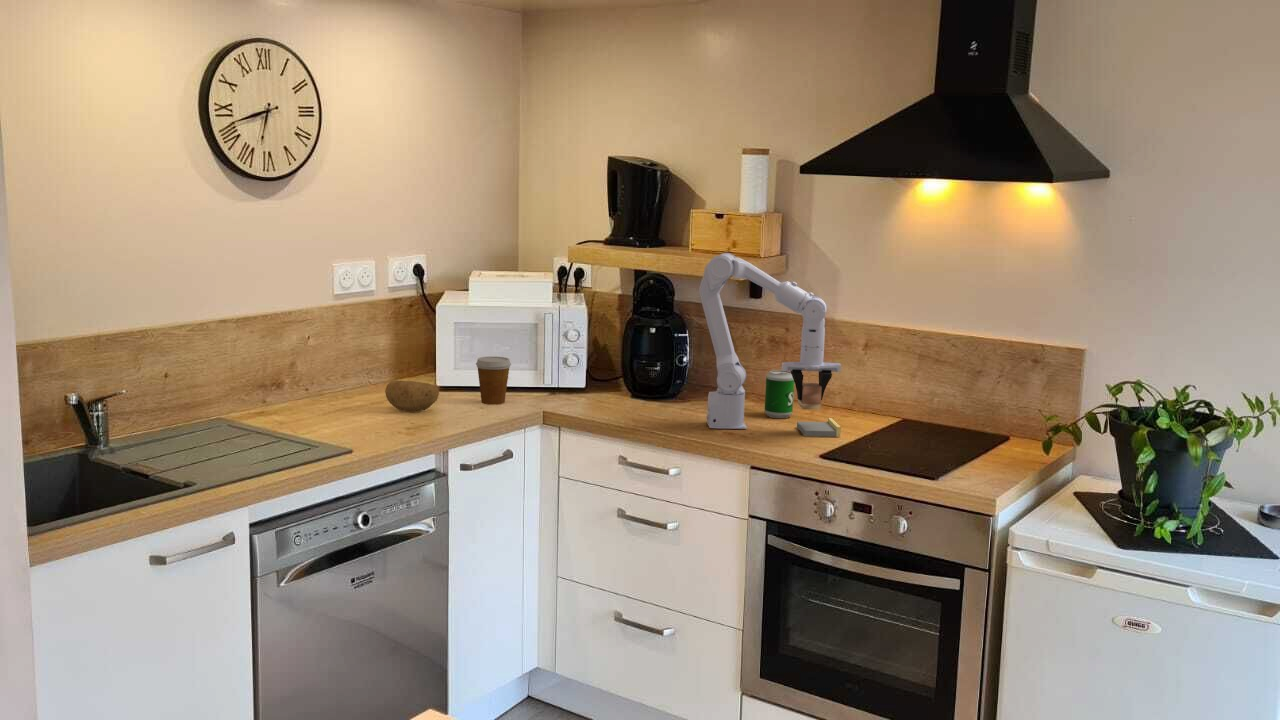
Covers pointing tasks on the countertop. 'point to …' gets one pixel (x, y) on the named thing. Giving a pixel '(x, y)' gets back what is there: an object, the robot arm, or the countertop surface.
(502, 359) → the disposable coffee cup
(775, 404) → the soda can
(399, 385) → the potato
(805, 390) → the brown rectangular block
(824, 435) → the dock
